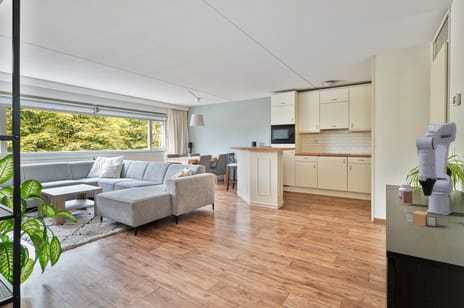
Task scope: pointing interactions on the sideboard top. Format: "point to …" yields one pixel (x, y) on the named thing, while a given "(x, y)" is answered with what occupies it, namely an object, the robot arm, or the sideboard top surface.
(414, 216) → the orange block
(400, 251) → the sideboard top surface
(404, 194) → the pill bottle
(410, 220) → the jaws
